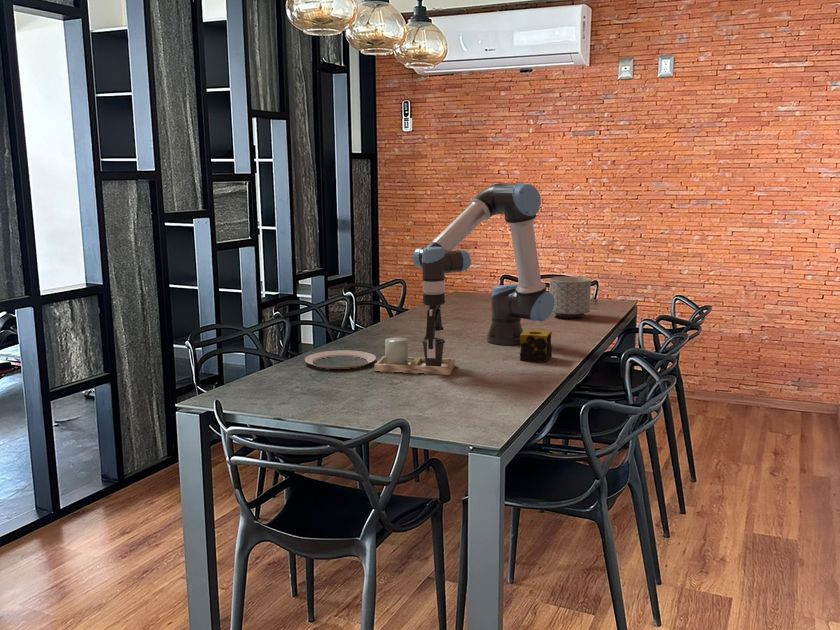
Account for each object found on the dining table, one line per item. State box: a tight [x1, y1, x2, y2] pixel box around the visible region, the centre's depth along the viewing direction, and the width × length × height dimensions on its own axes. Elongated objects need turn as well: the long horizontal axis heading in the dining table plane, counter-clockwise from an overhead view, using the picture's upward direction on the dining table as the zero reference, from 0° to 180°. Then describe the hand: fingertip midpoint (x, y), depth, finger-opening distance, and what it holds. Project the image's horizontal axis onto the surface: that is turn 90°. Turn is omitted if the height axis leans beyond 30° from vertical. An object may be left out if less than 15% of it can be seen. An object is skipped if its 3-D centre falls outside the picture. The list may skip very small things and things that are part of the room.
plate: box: [304, 349, 377, 370], centre depth 280 cm, size 26×26×2 cm
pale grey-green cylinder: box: [384, 337, 409, 365], centre depth 271 cm, size 8×8×9 cm
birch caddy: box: [373, 355, 456, 376], centre depth 271 cm, size 26×13×2 cm, turn 80°
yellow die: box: [519, 329, 553, 363], centre depth 284 cm, size 10×10×10 cm
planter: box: [549, 276, 592, 319], centre depth 369 cm, size 19×19×18 cm
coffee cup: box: [421, 338, 446, 367], centre depth 269 cm, size 8×8×10 cm
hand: (434, 353), depth 269 cm, fingers open, 13 cm apart
